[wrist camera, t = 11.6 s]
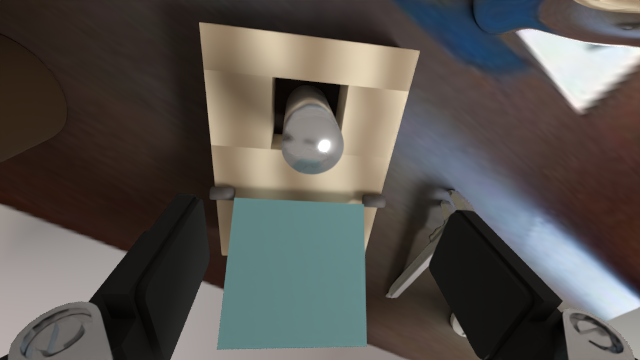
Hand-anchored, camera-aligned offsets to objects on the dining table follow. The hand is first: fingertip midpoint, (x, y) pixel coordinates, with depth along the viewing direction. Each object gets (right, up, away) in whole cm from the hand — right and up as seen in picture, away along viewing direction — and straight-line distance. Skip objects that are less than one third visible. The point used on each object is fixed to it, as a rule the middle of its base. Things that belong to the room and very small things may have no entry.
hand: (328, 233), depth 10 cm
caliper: (+13, -7, +27) cm, 31 cm away
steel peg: (-2, +9, +15) cm, 18 cm away
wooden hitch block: (-2, +5, +18) cm, 18 cm away
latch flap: (-2, -6, +14) cm, 15 cm away
